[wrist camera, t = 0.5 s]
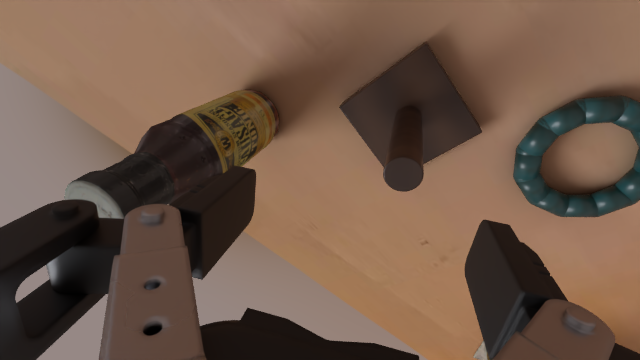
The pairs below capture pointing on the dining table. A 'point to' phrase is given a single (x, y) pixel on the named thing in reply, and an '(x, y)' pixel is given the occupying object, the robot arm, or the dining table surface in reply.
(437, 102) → the peg stand
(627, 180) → the ring
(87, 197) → the sauce bottle
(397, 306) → the dining table surface
